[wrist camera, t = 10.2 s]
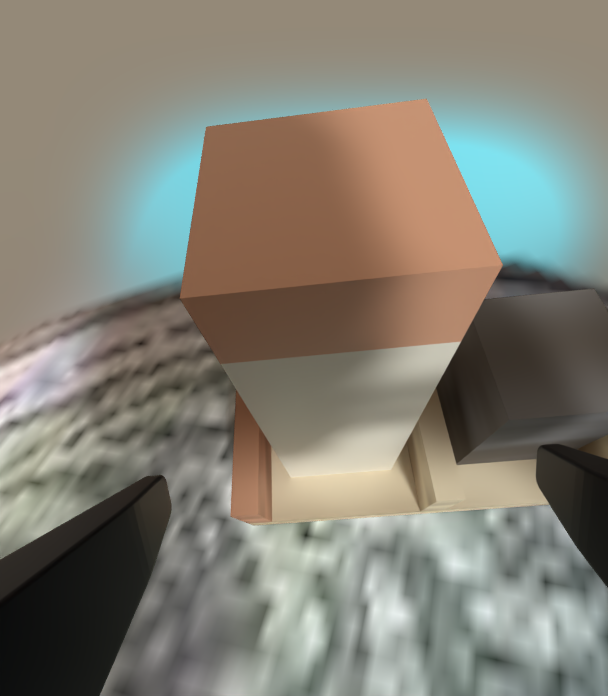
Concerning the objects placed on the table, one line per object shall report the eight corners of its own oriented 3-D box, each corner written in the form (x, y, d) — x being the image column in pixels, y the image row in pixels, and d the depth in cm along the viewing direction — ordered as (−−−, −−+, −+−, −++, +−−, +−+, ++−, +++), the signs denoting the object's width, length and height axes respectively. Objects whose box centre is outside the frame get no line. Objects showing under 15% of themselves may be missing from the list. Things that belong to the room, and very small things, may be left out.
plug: (390, 469, 16) (503, 264, 5) (290, 477, 16) (179, 298, 5) (375, 378, 18) (426, 98, 7) (287, 386, 19) (206, 126, 7)
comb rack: (610, 500, 16) (779, 462, 10) (254, 525, 16) (202, 505, 10) (535, 338, 20) (620, 242, 14) (256, 364, 21) (220, 283, 15)
